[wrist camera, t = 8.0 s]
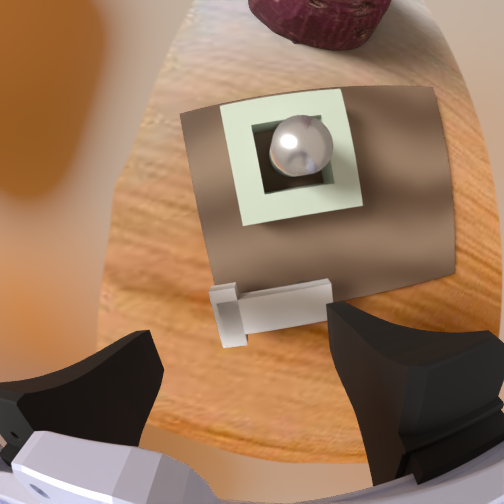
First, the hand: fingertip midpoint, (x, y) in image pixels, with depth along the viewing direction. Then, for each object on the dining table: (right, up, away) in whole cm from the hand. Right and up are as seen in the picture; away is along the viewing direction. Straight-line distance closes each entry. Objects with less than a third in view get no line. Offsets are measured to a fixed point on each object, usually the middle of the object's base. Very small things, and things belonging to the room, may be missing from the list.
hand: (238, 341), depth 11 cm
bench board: (+6, +8, +9) cm, 13 cm away
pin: (+3, +10, +7) cm, 12 cm away
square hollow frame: (+3, +10, +8) cm, 13 cm away
